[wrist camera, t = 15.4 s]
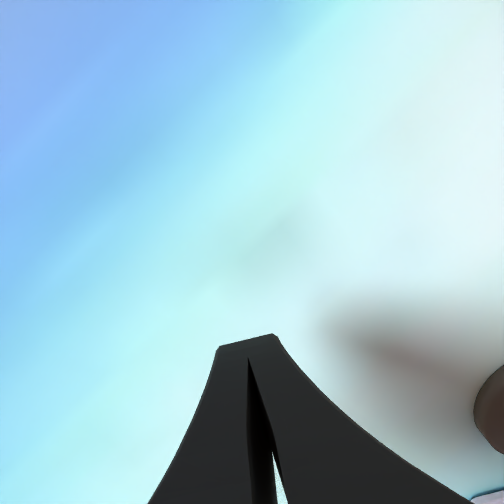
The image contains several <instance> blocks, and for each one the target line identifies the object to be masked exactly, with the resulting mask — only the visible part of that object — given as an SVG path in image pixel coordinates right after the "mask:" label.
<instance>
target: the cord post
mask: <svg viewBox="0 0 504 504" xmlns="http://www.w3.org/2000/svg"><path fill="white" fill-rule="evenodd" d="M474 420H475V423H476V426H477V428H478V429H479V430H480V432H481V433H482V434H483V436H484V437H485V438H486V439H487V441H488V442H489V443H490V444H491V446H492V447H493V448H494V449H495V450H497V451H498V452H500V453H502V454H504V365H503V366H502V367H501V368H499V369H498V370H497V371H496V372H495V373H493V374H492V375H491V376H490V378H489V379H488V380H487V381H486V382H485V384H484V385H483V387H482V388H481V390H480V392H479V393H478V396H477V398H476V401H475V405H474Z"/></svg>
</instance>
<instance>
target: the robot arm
mask: <svg viewBox="0 0 504 504" xmlns="http://www.w3.org/2000/svg"><path fill="white" fill-rule="evenodd" d="M272 452H273V455H272ZM273 456H274V459H275V462H276V465H277V469H278V472H279V475H280V478H281V482H282V485H283V488H284V492H285V495H286V498H287V501H288V504H504V490H503V491H499V492H495V493H491V494H487V495H483V496H479V497H476V498H473V499H472V500H471V501H469V500H467V499H466V498H464V497H462V496H460V495H459V494H457V493H456V492H454V491H452V490H451V489H449V488H448V487H446V486H445V485H443V484H441V483H440V482H438V481H437V480H435V479H434V478H432V477H430V476H429V475H427V474H426V473H424V472H423V471H421V470H419V469H418V468H416V467H415V466H413V465H412V464H410V463H408V462H407V461H406V460H404V459H403V458H401V457H400V456H399V455H397V454H396V453H394V452H393V451H392V450H390V449H389V448H388V447H386V446H385V445H383V444H382V443H381V442H379V441H378V440H377V439H376V438H374V437H373V436H372V435H370V434H369V433H368V432H367V431H365V430H364V429H363V428H362V427H360V426H359V425H358V424H357V423H356V422H354V421H353V420H352V419H351V418H350V417H349V416H347V415H346V414H345V413H344V412H343V411H342V410H341V409H340V408H339V407H338V406H336V405H335V404H334V403H333V402H332V401H331V400H330V399H329V398H328V397H327V396H326V395H325V394H324V393H323V392H322V391H321V390H320V389H319V388H318V387H317V386H316V385H315V384H314V383H313V382H312V381H311V380H310V379H309V377H308V376H307V375H306V374H305V373H304V372H303V371H302V370H301V369H300V368H299V366H298V365H297V364H296V363H295V361H294V360H293V359H292V358H291V356H290V355H289V354H288V352H287V351H286V350H285V348H284V347H283V345H282V344H281V342H280V340H279V338H278V337H277V336H276V335H274V334H272V333H271V334H267V335H263V336H259V337H255V338H251V339H247V340H243V341H238V342H234V343H230V344H226V345H222V346H219V348H218V349H217V351H216V353H215V357H214V361H213V365H212V368H211V371H210V374H209V377H208V380H207V383H206V386H205V389H204V391H203V394H202V396H201V399H200V401H199V404H198V406H197V409H196V412H195V414H194V416H193V419H192V421H191V423H190V425H189V427H188V429H187V431H186V434H185V436H184V438H183V440H182V442H181V444H180V446H179V448H178V450H177V452H176V454H175V456H174V458H173V460H172V462H171V464H170V466H169V468H168V469H167V471H166V473H165V475H164V477H163V478H162V480H161V482H160V484H159V485H158V487H157V489H156V490H155V492H154V494H153V496H152V497H151V499H150V500H149V502H148V504H278V502H277V493H276V483H275V474H274V465H273Z"/></svg>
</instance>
